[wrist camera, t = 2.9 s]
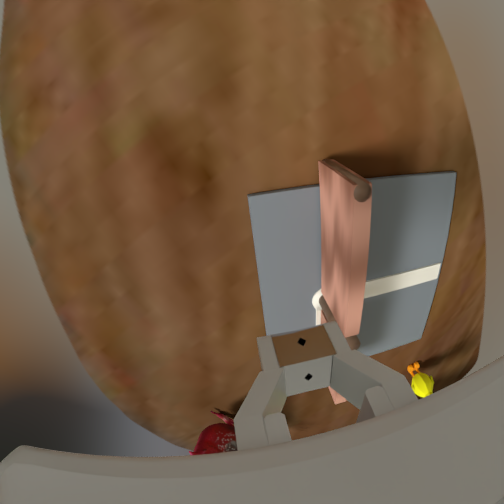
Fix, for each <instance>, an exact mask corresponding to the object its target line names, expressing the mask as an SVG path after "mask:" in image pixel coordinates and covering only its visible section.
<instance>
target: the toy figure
mask: <svg viewBox="0 0 504 504" xmlns="http://www.w3.org/2000/svg"><path fill="white" fill-rule="evenodd" d="M419 367H420V365H419V363H418V362H415V363H414V365H413V366H412V365H409V366H408V368H407V370H408V372H409V373H411V375H412V377H413V378H412V385H411V386H412V387H411V388H412V390H413V391H414V393H415V394H416V395H418V396H420V397H423V398H424V397H426V396H429V395H431V394H433V392H432V391H433V384H434V381H433V378H432V376H430V377H429V376H428V375H427V374H424V373H421V372H420V371H419V370H418V368H419ZM414 370H415V371H417V374H416V375H414V374H413V371H414Z"/></svg>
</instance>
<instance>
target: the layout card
mask: <svg viewBox="0 0 504 504" xmlns="http://www.w3.org/2000/svg"><path fill="white" fill-rule="evenodd" d="M366 180H368V181H369V182H371V183H372V203H371V224H370V240H369V253H368V264H367V275H366V284H365V293H364V301H363V309H362V316H361V323H360V330H359V334H357V337H358V339H359V341H360V343H361V344H360V347H359V348H358V349H357V351H359V352H361V353H363V354H364V355H366V356H371V355H374V354H377V353H380V352H383V351H386V350H389V349H392V348H395V347H398V346H401V345H404V344H407V343H410V342H413V341H416V340H418V339H421V336H422V333H423V330H424V327H425V324H426V321H427V318H428V315H429V311H430V308H431V304H432V301H433V297H434V294H435V290H436V286H437V282H438V278H439V274H440V270H441V266H442V261H443V257H444V252H445V247H446V242H447V237H448V232H449V226H450V220H451V214H452V207H453V199H454V192H455V183H456V172H454V171H448V172H434V173H420V174H408V175H397V176H386V177H376V178H367V179H366ZM248 203H249V210H250V217H251V225H252V232H253V239H254V247H255V254H256V261H257V269H258V276H259V283H260V291H261V298H262V306H263V313H264V321H265V328H266V336H269V335H273V334H279V333H284V332H290V331H295V330H299V329H303V328H307V327H312V326H316V325H320V324H321V310H322V308H321V306H320V304H319V298H320V297H321V296H322V293H321V209H320V184H316V185H309V186H302V187H295V188H288V189H281V190H274V191H267V192H261V193H255V194H249V195H248Z"/></svg>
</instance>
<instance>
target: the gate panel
mask: <svg viewBox="0 0 504 504" xmlns="http://www.w3.org/2000/svg"><path fill="white" fill-rule="evenodd" d="M318 163H319V183H320V209H321V293H322V295H323V297H324V298H325V300H326V302H327V304H328V306H329V308H330V310H331V312H332V314H333V316H334V318H335V320H336V322H337V324H338V325H339V327H340V329H341V331H342V333H343V335H344V337H345V338H346V337H350V336H353V335H357V334H359V330H360V323H361V316H362V309H363V301H364V293H365V284H366V275H367V264H368V253H369V240H370V224H371V203H372V183H371V182H369V181H368V180H366V179H365V178H363V177H362V176H360V175H358V174H357V173H355V172H354V171H352V170H350V169H349V168H347V167H345V166H344V165H342V164H341V163H339V162H337V161H336V160H334V159H331V160H330V159H323V160H322V161H318Z"/></svg>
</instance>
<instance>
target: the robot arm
mask: <svg viewBox="0 0 504 504" xmlns="http://www.w3.org/2000/svg"><path fill="white" fill-rule="evenodd" d="M257 344H258V350H259V356H260V362H261V368H262V371H261V372H259V374H258V376H257V378H256V380H255V382H254V383H253V385H252V387H251V389H250V391H249V393H248V395H247V396H246V398H245V400H244V402H243V404H242V405H241V407H240V409H239V411H238V413H237V414H236V416H235V418H234V426H235V434H236V442H237V450H238V451H230V452H222V453H213V454H203V455H190V456H173V457H116V456H98V455H87V454H77V453H68V452H60V451H53V450H47V449H41V448H36V447H31V446H19V447H18V448H17V449H15V450H14V451H12V452H11V453H10V454H9V455H8V456H7V457H6V458H5V459H4V460H3V461H2V462H1V463H0V504H504V355H503V356H502V357H500V358H498V359H497V360H495V361H493V362H492V363H490V364H488V365H487V366H485V367H483V368H482V369H480V370H478V371H476V372H474V373H473V374H471V375H469V376H467V377H465V378H463V379H461V380H459V381H457V382H456V383H454V384H452V385H450V386H448V387H446V388H443V389H441V390H439V391H437V392H435V393H433V394H431V395H429V396H426V397H424V398H422V399H419V400H418V398H417V397H416V395H415V393H414V391H413V390H412V388H411V386H410V384H409V383H408V381H407V379H406V378H405V376H404V375H402V374H400V373H398V372H397V371H395V370H393V369H391V368H389V367H387V366H385V365H383V364H381V363H379V362H378V361H376V360H374V359H372V358H370V357H368V356H366V355H364V354H363V353H361V352H359V351H357V350H351V349H350V347H349V345H348V343H347V341H346V339H345V337H344V335H343V333H342V331H341V330H340V328H339V326H338V324H337V322H335V321H332V322H328V323H324V324H320V325H316V326H312V327H307V328H303V329H299V330H295V331H290V332H284V333H279V334H273V335H269V336H263V337H257ZM328 386H330V387H331V388H332V389H333V390H335V391H336V392H337V393H339V394H340V395H341V396H342V397H344V398H345V399H346V400H348V401H349V402H350V403H352V404H353V405H354V406H356V407H357V408H358V409H360V412H359V416H358V419H357V422H356V424H353V425H349V426H346V427H343V428H339V429H336V430H333V431H329V432H325V433H322V434H318V435H314V436H310V437H306V438H302V439H298V440H293V441H292V440H291V436H290V433H289V429H288V425H287V422H286V418H285V414H282V413H281V411H282V409H283V406H284V404H285V401H286V398H287V396H291V395H295V394H299V393H303V392H307V391H311V390H315V389H320V388H324V387H328Z"/></svg>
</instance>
